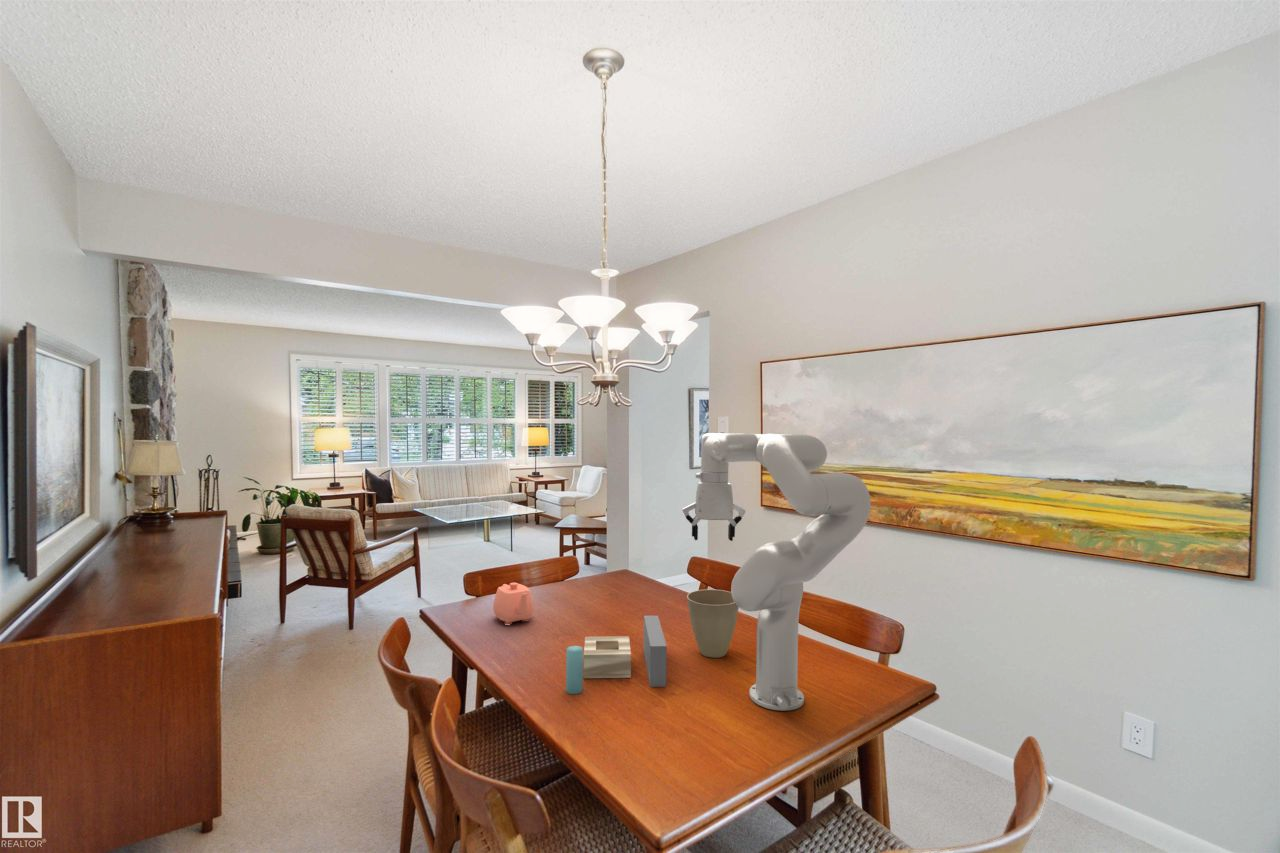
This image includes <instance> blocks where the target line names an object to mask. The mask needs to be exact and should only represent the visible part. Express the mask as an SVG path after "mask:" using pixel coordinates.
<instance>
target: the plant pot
mask: <svg viewBox="0 0 1280 853" xmlns="http://www.w3.org/2000/svg"><path fill="white" fill-rule="evenodd" d="M686 599H687V601H686V602H687V608H688V614H689V619H690V623H691V627H692V630H693V635H694V637H695V641H696V643H697V647H698V649H699V653H700V654H701V655H702V656H704V657H708V658H712V659H713V658H715V659H716V658H722V657H724V656H726V655H727V653H728V650H729V648H730V645H731V642H732V640H733V639H732V638H733V636H734V633H735V632H734V631H735V628H736V624H737V619H738V614H739V607H738V606H737V605H736V603H735V602H734V600H733V598H732V594H731V591H728V590H723V589H713V588H712V589H710V588H709V589H708V588H707V589H705V588H704V589H697V590H694V591H691V592H689V593H688V594H687V595H686Z"/></svg>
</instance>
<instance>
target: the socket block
mask: <svg viewBox="0 0 1280 853" xmlns="http://www.w3.org/2000/svg"><path fill="white" fill-rule="evenodd" d="M631 650H632V649H631V642H630V636H629V635H627V636H626V635H625V636H624V635H623V636H622V635H620V636H618V635H617V636H615V635H614V636H613V635H611V636H585V637H584V647H583V679H621V678H622V679H626V678H627V679H628V678H631V677H632V651H631Z"/></svg>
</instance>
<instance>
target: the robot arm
mask: <svg viewBox="0 0 1280 853" xmlns="http://www.w3.org/2000/svg"><path fill="white" fill-rule="evenodd" d="M700 453H701V454H700V456H701V457H700V460H701V461H700V471H699V472H698V473H695V479H699V480H700V481H699V482H698V483H697V486H696V488H697V489H696V495H695V502H693V503H691V504H689V505H687V506H685V507H683V508H682V513H683V514H684V517H685V518H686V520H687V521H688V522H689V523H690V524H691V537H692V538H693V539H694V541H698V538H699V526H698V523H699V522H700V521H701V520H705V521H728V522H729V524H728V528H727V529H728V532H727V534H728V535H727V539H728V541H730V542H733V540H734V538H735V536H736V527H737V525H738V524H739V522H741V521H742V519H743V517H744V515H745V513H746V510H745V509H744V508H742V507H740V506H738V505H737V504H734V496H733V488H732V483H730V482H729V463H736V462H739V463H740V462H756V463H758V462H759V464H760V465H761V466H762V467H764V468H765V469H766V470H767V472H768V473H769V475H770V476H771V478H772V480H773V481H774V483H775V484H776V485H777V487H778V489H779V490H780V492H781V493H782V495H783V497H784V498H785V499H786V501H787V503H788V504H789V505H790V506H791V508H792V509H794V510H795V511H796V512H797V513H799V514H801V515H803V516H814V517H815V516H817V517H816V518H815V519H813V520H812V521H811V522H810V523H809V524H807V525H806V526H805V528H804V529H803V530H802V531H801V532H800V533H799V534H798V535H797V536H795V537H794V538H790V539H785V540H778V541H773V542H767V543H765V544H763V545H761V546H759V547H758V548H757V549H756V550H755V551H753V553H752V554H751V555H750V556H749V557H748V559H746V561H745V562H744V563H743V564H742V565H741V567H740V568H739V569H738V570H737V571H736V573H735V574H734V575H733V576H734V577H733V579H732V580H731V585H730V587H731V588H730V592H731V594H732V598H733V600H734V602H735V603H736V605H737V606H738V607H739V608H740V609H741V610H743V611H745V612H758V611H759V613H758V616H757V621H756V656H755V658H756V660H755V661H756V662H755V663H756V665H755V666H756V669H755V670H756V671H755V674H756V676H755V684H753V685H751V686H750V688H749V691H748V693H749V697H750V699H751V701H752V702H753V703H755V704H756V705H758V706H760V707H763V708H765V709H768V710H773V711H781V712H784V711H785V712H787V711H794V710H797V709H800V708H801V707H802V706H803V705H804V703H805V695H804V693H803V692H802V691H801V690H800V689H798V667H799V666H798V660H799V659H798V657H799V656H798V655H799V654H798V653H799V652H798V650H799V648H798V647H799V646H798V645H799V618H800V609H801V608H800V607H801V603H802V599H803V594H804V583H807V582H810V581H811V580H814V578H815V577H817V576H818V575H819V574H820V573H821V572H822V570H824V569H825V568H826V567H827V566H828V565H829V564H830V563H831V562H832V561H833V560H834V559H835V558H836V557H837V556H838V555H839V554H840V553H842V551H843V550H844V549H845V548H846V547H848V545H849V544H850V543H852V542H853V541H854V540H855V538H857V536H858V535H859V534H860V533H861V532H862V531H863V530H864V528H865V526H866V523H867V522H868V519H869V515H870V511H871V495H870V493H869V489H868V487H867V485H866V482H864V481H863V480H862V479H861V478H859V477H858V476H855V475H853V474H850V473H846V472H845V473H844V472H830V473H828V472H827V473H825V472H824V473H812V472H815V471H817V470H818V469H819V470H820V468H821V467H823V466H824V464H825V462H826V460H827V458H828V456H827V455H828V454H827V453H828V452H827V448H826V445H825V444H824V443H823V442H822V441H821V440H820V439H819V438H817V437H815V436H812V435H808V434H798V433H797V434H795V433H794V434H793V433H792V434H790V433H775V432H774V433H773V432H771V433H770V432H768V433H766V434H765V433H764V434H763V433H742V432H741V433H740V432H739V433H736V432H735V433H723V432H722V433H719V432H718V433H717V432H716V433H715V432H707V433H704V434H703V435H702V437H701V451H700ZM692 510H694V513H695V516H693V517H692V516H691V515H690V513H689V512H690V511H692ZM734 510H735V511H736V512H738V513H737V515H736V516H735V517H734ZM733 517H734V518H733ZM739 608H738V609H739Z"/></svg>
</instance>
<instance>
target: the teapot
mask: <svg viewBox="0 0 1280 853" xmlns="http://www.w3.org/2000/svg"><path fill="white" fill-rule="evenodd" d="M534 607H535V606H534V600H533V596H532V593H531V590H530V588H528V586H526V585H523V584H521V583H518V582H510V583H509V584H506V583H504V584H502V585H501V586H498V587H497V590H496V593H495V596H494V600H493V613H494V615H495V616H496V618H497V619H498V618H499V619H500V620H499V621H502V622H504V624H512V625H513V622H518V621H521V620H522V621H528V620H529V621H530V619H531V618H532V617H533V615H534V611H535V608H534ZM522 621H521V622H522ZM529 621H528V622H529Z"/></svg>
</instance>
